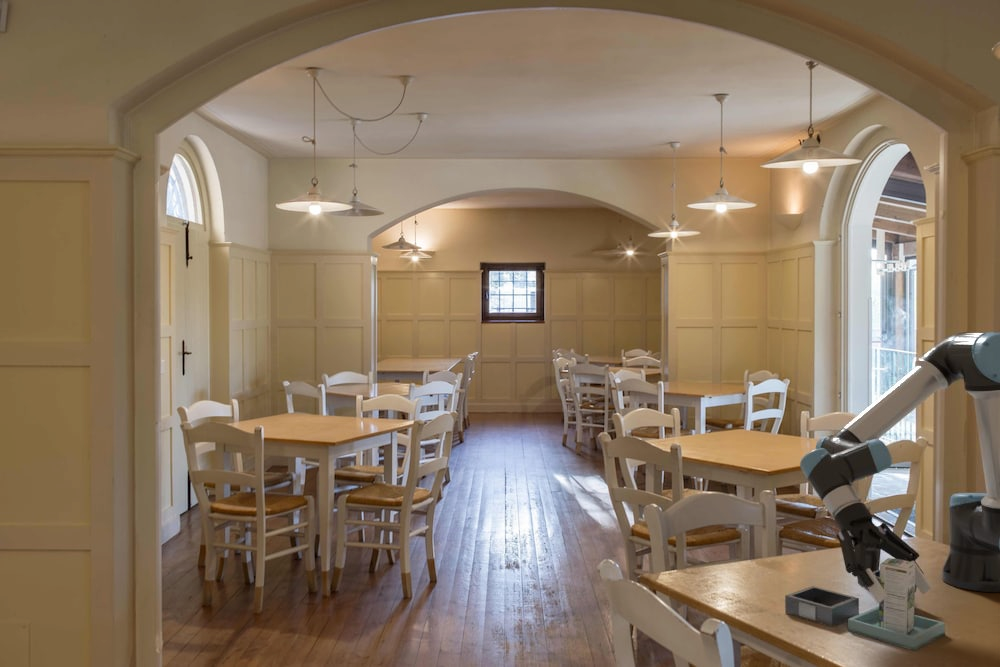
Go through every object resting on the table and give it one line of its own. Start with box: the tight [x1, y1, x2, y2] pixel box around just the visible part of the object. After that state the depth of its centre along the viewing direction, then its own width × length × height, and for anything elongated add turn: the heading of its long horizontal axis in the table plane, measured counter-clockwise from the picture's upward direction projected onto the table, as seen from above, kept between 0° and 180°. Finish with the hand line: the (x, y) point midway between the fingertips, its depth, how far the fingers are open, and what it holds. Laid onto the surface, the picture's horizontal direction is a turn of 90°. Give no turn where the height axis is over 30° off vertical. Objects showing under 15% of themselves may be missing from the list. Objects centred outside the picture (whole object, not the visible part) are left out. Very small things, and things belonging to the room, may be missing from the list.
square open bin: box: [784, 585, 860, 628], centre depth 186 cm, size 12×11×4 cm
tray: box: [847, 605, 946, 652], centre depth 175 cm, size 14×14×2 cm
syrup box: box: [878, 557, 916, 635], centre depth 175 cm, size 6×6×14 cm
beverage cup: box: [856, 506, 882, 587], centre depth 209 cm, size 7×7×20 cm
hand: (905, 595), depth 173 cm, fingers open, 13 cm apart
